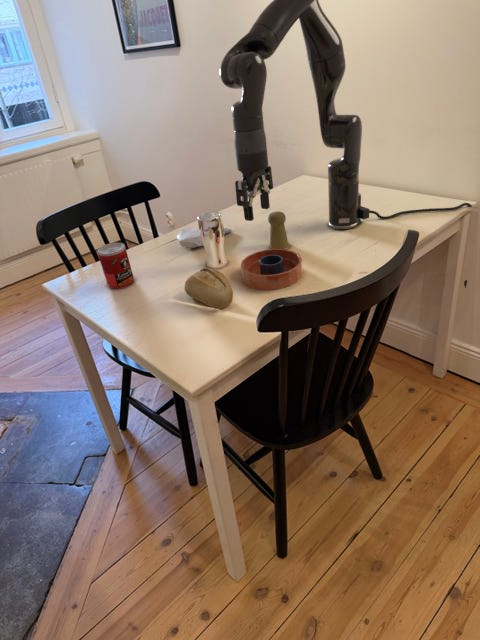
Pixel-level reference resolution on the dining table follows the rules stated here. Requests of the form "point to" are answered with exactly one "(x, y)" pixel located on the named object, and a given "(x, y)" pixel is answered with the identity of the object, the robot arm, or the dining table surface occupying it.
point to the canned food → (115, 265)
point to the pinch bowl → (271, 265)
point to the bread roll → (210, 288)
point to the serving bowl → (275, 281)
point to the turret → (193, 237)
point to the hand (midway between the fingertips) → (257, 214)
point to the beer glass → (212, 238)
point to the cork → (277, 230)
